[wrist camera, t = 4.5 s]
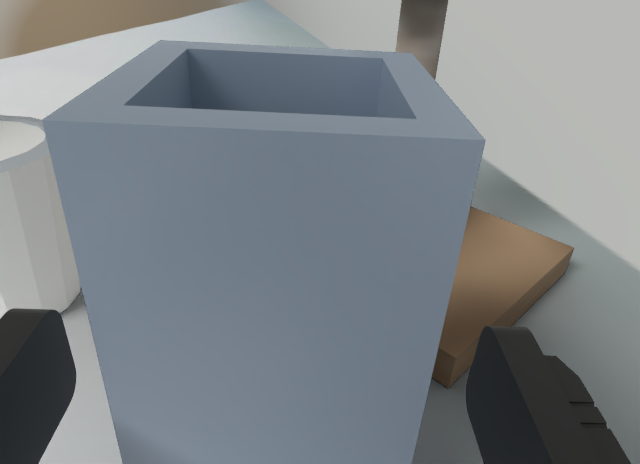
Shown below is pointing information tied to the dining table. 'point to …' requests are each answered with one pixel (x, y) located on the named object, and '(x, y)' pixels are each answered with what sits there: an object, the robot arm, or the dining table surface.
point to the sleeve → (265, 247)
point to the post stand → (480, 237)
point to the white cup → (32, 223)
